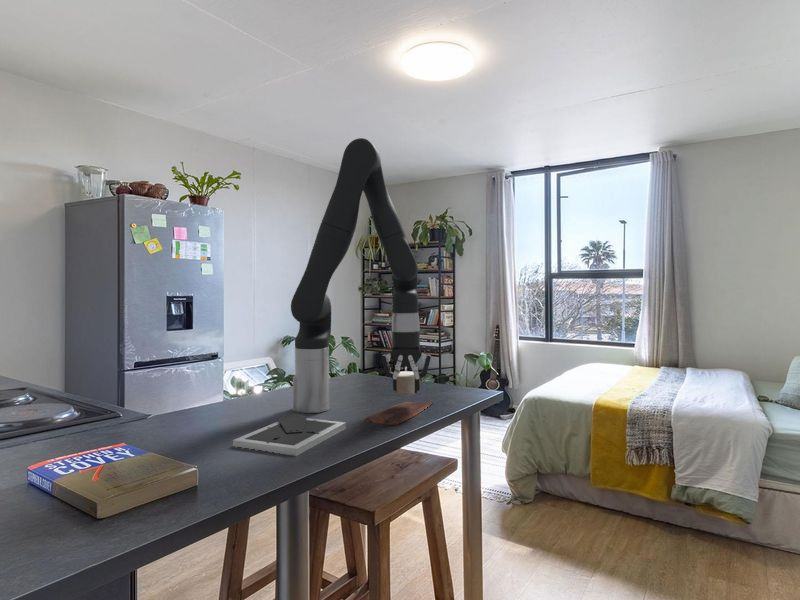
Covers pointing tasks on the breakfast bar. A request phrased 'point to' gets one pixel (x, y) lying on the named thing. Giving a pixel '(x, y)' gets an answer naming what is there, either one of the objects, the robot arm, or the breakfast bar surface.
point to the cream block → (406, 383)
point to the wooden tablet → (398, 413)
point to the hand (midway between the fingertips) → (406, 392)
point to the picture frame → (290, 435)
